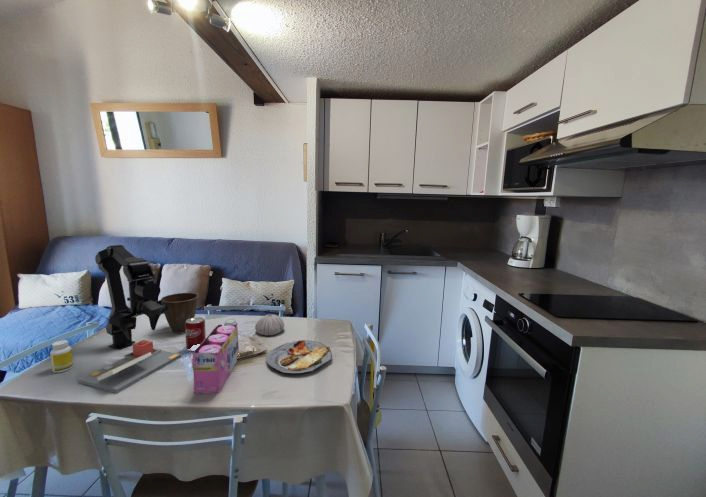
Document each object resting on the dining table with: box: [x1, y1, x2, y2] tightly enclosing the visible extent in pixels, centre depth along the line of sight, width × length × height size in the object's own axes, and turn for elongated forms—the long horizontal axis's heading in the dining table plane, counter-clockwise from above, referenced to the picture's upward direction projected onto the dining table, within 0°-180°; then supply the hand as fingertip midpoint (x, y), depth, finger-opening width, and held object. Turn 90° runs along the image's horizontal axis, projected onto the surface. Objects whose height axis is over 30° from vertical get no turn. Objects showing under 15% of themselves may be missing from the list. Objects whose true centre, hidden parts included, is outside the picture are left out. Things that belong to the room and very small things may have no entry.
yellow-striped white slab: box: [97, 352, 152, 381], centre depth 101 cm, size 8×13×1 cm, turn 163°
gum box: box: [192, 324, 240, 394], centre depth 106 cm, size 24×8×14 cm, turn 5°
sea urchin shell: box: [254, 314, 285, 336], centre depth 142 cm, size 13×14×8 cm
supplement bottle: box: [49, 339, 74, 374], centre depth 105 cm, size 5×5×10 cm
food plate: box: [265, 339, 333, 374], centre depth 117 cm, size 25×23×4 cm
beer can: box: [223, 318, 238, 326], centre depth 123 cm, size 5×5×12 cm
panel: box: [77, 349, 182, 394], centre depth 107 cm, size 17×24×3 cm
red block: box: [131, 339, 154, 357], centre depth 114 cm, size 4×4×6 cm
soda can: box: [184, 316, 207, 350], centre depth 123 cm, size 7×7×12 cm
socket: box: [124, 347, 162, 363], centre depth 114 cm, size 8×8×1 cm
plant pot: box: [160, 292, 199, 334], centre depth 140 cm, size 15×15×16 cm
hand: (142, 334), depth 113 cm, fingers open, 9 cm apart
